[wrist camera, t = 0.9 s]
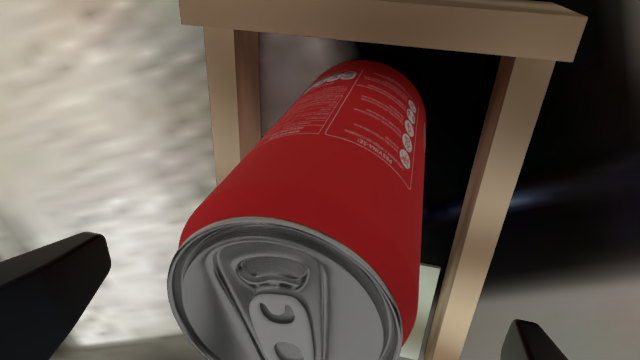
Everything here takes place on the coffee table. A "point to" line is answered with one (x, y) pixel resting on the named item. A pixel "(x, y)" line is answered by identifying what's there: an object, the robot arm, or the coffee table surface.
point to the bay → (415, 31)
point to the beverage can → (313, 230)
